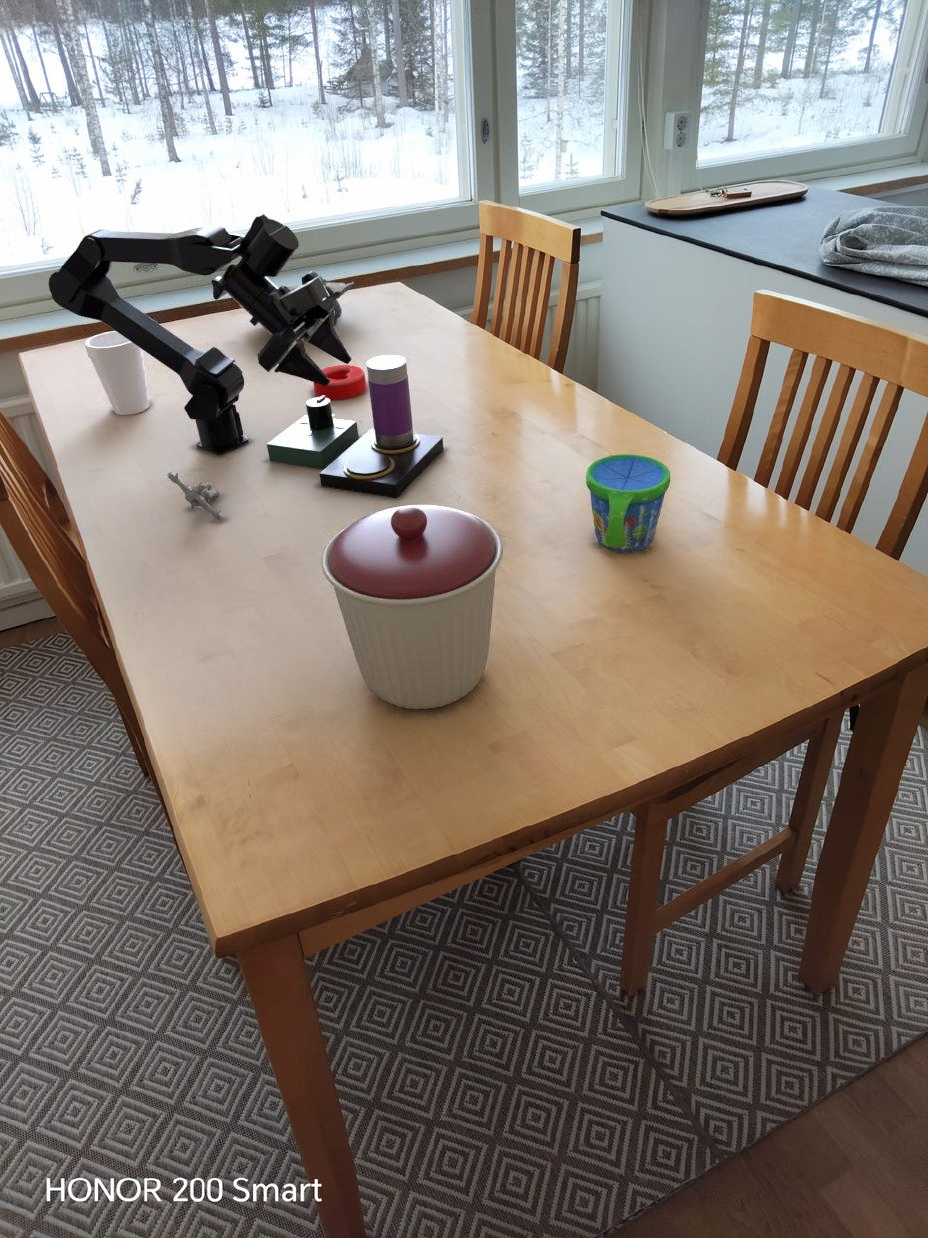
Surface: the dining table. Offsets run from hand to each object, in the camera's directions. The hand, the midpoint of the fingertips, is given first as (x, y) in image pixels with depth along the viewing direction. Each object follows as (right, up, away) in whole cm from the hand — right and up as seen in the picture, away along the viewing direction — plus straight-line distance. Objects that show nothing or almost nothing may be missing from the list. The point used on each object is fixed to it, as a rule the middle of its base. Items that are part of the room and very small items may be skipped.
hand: (339, 372), depth 140 cm
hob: (+7, -14, +3) cm, 16 cm away
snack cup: (+41, -28, -19) cm, 53 cm away
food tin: (+8, -9, +4) cm, 13 cm away
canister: (+15, -45, -40) cm, 62 cm away
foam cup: (-43, +1, +29) cm, 52 cm away
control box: (-5, -10, +10) cm, 15 cm away
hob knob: (-4, -6, +10) cm, 12 cm away
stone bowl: (-17, +27, +63) cm, 70 cm away
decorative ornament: (-4, +5, +31) cm, 31 cm away
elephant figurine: (-20, -22, -5) cm, 30 cm away
